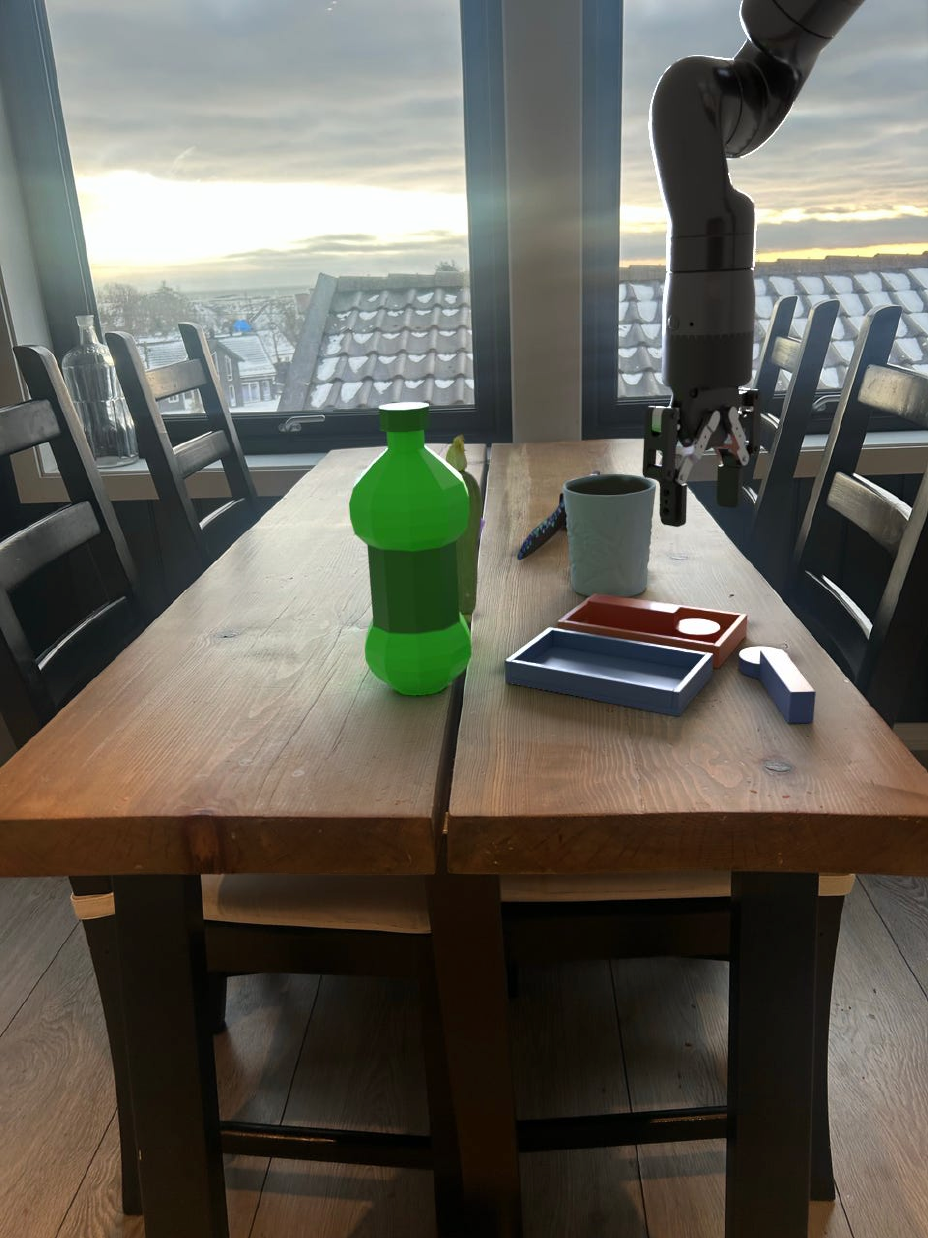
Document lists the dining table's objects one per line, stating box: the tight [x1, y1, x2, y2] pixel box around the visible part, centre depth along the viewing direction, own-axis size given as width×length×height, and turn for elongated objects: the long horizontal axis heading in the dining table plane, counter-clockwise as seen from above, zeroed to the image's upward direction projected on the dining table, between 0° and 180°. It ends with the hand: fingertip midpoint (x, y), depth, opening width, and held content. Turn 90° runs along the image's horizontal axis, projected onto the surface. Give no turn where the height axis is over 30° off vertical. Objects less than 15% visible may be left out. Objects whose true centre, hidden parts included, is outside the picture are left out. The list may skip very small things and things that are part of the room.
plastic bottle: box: [348, 401, 472, 697], centre depth 87 cm, size 10×10×25 cm
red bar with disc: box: [587, 595, 721, 644], centre depth 98 cm, size 13×4×3 cm, turn 60°
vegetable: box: [445, 434, 483, 625], centre depth 101 cm, size 4×4×20 cm
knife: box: [516, 470, 601, 561], centre depth 136 cm, size 31×3×4 cm, turn 151°
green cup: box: [562, 473, 657, 598], centre depth 112 cm, size 10×10×12 cm
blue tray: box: [504, 627, 714, 717], centre depth 90 cm, size 16×9×2 cm, turn 60°
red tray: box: [557, 593, 748, 669], centre depth 99 cm, size 16×9×2 cm, turn 60°
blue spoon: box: [737, 646, 817, 725], centre depth 86 cm, size 13×4×3 cm, turn 0°
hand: (701, 515), depth 89 cm, fingers open, 8 cm apart
